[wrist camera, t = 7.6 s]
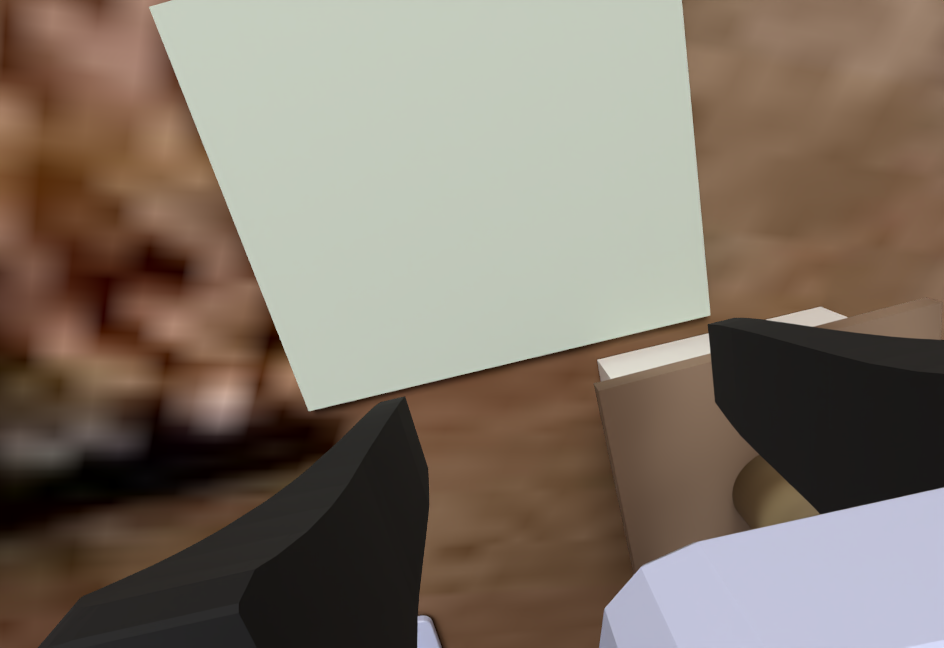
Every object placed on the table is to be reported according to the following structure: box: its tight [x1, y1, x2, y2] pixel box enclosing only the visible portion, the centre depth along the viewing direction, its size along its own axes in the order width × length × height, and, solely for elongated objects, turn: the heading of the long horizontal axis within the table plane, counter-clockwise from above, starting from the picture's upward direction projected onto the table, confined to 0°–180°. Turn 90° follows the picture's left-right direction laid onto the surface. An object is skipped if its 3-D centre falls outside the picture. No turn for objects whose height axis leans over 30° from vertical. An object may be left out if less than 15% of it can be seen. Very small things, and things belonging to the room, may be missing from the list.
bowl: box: [597, 307, 848, 381], centre depth 21 cm, size 10×10×4 cm
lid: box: [594, 297, 942, 574], centre depth 18 cm, size 12×12×4 cm
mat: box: [149, 0, 710, 411], centre depth 19 cm, size 18×16×1 cm
